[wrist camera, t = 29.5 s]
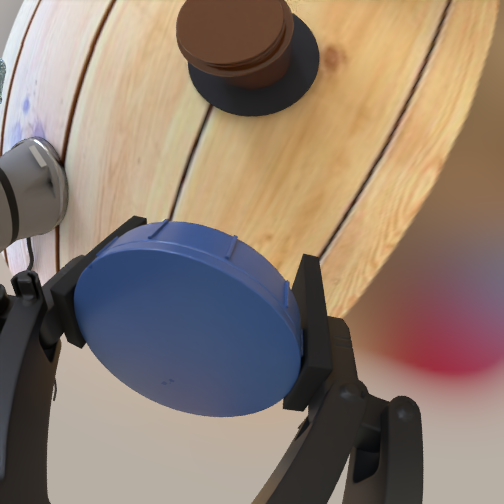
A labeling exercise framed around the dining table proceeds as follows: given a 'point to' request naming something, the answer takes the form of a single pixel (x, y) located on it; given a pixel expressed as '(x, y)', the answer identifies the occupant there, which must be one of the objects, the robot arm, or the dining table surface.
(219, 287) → the lid
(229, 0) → the jar
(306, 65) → the coaster
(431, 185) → the dining table surface
